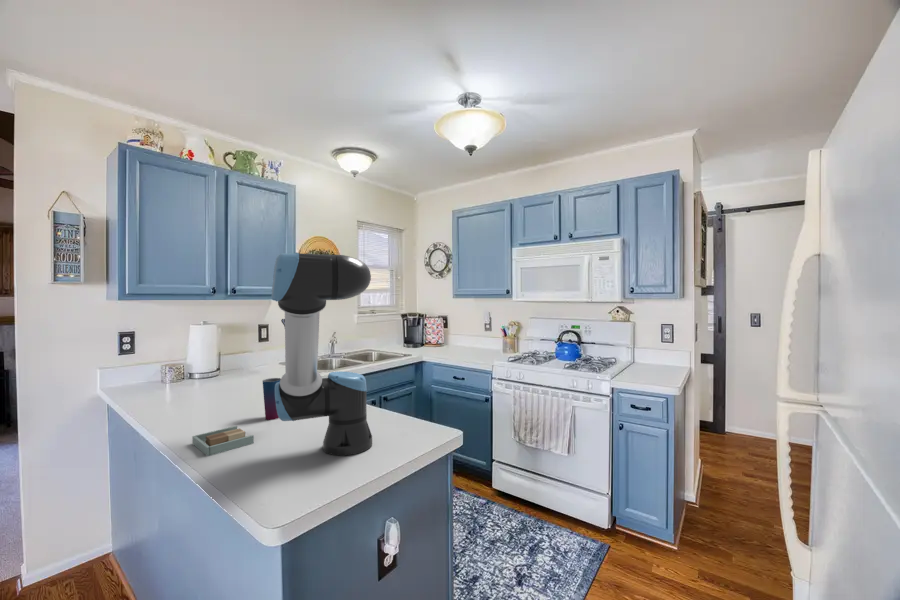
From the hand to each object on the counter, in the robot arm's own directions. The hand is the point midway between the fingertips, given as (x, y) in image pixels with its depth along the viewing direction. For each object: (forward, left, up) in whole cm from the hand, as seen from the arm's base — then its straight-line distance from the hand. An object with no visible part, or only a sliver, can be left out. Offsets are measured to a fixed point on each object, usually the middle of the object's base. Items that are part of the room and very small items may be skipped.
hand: (299, 363), depth 140 cm
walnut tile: (+4, +26, -23) cm, 35 cm away
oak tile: (+4, +21, -23) cm, 32 cm away
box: (+4, +24, -23) cm, 34 cm away
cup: (+18, +2, -23) cm, 29 cm away
